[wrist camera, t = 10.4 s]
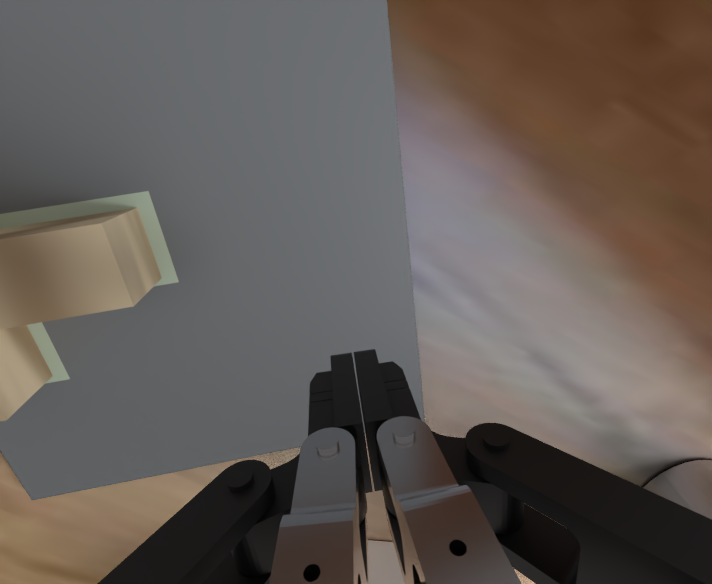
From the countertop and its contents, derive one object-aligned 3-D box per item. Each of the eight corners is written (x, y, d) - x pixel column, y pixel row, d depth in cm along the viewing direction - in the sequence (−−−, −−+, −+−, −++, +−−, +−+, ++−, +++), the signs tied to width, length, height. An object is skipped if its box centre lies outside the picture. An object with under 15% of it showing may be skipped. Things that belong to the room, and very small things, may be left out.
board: (366, -176, 15) (369, -192, 14) (421, 413, 26) (424, 421, 25) (-325, -104, 13) (-361, -118, 13) (40, 489, 24) (31, 500, 23)
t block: (102, 106, 17) (53, 99, 13) (187, 351, 21) (166, 390, 18) (-165, 143, 16) (-284, 146, 13) (-17, 388, 21) (-77, 435, 17)
